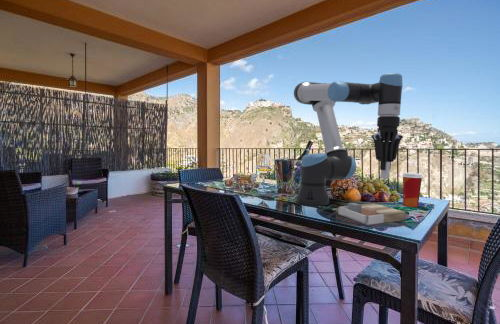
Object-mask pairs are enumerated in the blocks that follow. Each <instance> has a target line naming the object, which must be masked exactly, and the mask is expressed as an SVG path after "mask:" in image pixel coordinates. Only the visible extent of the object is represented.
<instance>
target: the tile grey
mask: <svg viewBox="0 0 500 324" xmlns="http://www.w3.org/2000/svg"><path fill="white" fill-rule="evenodd" d="M347 206H348V210H351V211H354V212H357V213H360V214H361V206H362V204H359V203H357V202H350V203H349V202H348V203H347Z"/></svg>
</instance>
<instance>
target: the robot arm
mask: <svg viewBox="0 0 500 324" xmlns="http://www.w3.org/2000/svg"><path fill="white" fill-rule="evenodd" d="M402 90H403V75H402V74H401V73H398V72H390V73H389V72H387V73H384V74H381V75H380V77H379V81H378V82H376V83H371V84H370V83H361V82H359V83H358V82H348V81H347V82H345V81H341V80H340V81H339V80H338V81H333V82H323V83H322V82H314V81H313V82H312V81H303V82H300V83H298V84H297V85H296V86H295V88H294V89H293V97H294V99H295V100H296V101H297V103H300V104H302V105H311V106H312V109H313V110H312V111H314V112H316V116H317V119H318V120H317V121H318V123H319V128H320V132H321V137H322V141H323V146H324V151H325V152H316V153H315V152H314V153H309V154H305V155H303V156H302V157H301V161H300V187H299V190H298V192H297V195H296V202H297V203H298V204H301V205H305V206H314V207H315V206H316V207H317V206H318V207H319V206H321V207H322V206H326V205H330V198H329V195H328V191H327V187H326V185H327V181H337V180H339V181H343V180H348V179H351V178H352V177H353V176H354V174H355V172H356V170H357V169H356V168H357V162H356V159H355V158H354V156H352V155H349V153H348V150H347V149H346V148H344V147H343V143H342V138H341V135H340V131H339V127H338V126H339V125H338V123H337V118H336V115H335V110H334V107H335V105H336V103H339V102H340V103H341V102H342V103H357V104H359V105H370V104H375V103H377V105H378V106H377V116H378V117H377V120H376V126H377V127H378V129H377V132H376V133H375V134H372V135H371V139H372V140H373V145H374V152H375V153H374V154H375V159H376V160H378V162H380V163H379V169H380V177H379V178H380V179H384V180H389V179H390V173H391V172H390V171H391V166H392V163H393V162H394V160H395V161H396V159H397V155H398V151H399V148H400V143H401V141H402V139H403V135H401V134H400V133H398V132H399V131H398V128H399V127H400V125H401V124H400V123H401V122H400V121H401V117H400V116H401V105H402V92H403V91H402Z"/></svg>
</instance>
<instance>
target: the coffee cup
mask: <svg viewBox="0 0 500 324" xmlns="http://www.w3.org/2000/svg"><path fill="white" fill-rule="evenodd" d="M401 176H402V206H404V207H409V208H418V207H419V202H420V196H421V188H422V182H423V181H422V179H423V175H422V173H417V172H416V173H415V172H404V173H402V175H401Z"/></svg>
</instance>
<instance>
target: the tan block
mask: <svg viewBox="0 0 500 324" xmlns="http://www.w3.org/2000/svg"><path fill="white" fill-rule="evenodd" d="M376 211H377V210H376V209H373V208H370V207H364V208H362V214H363V215H366V216H370V215H376Z"/></svg>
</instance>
